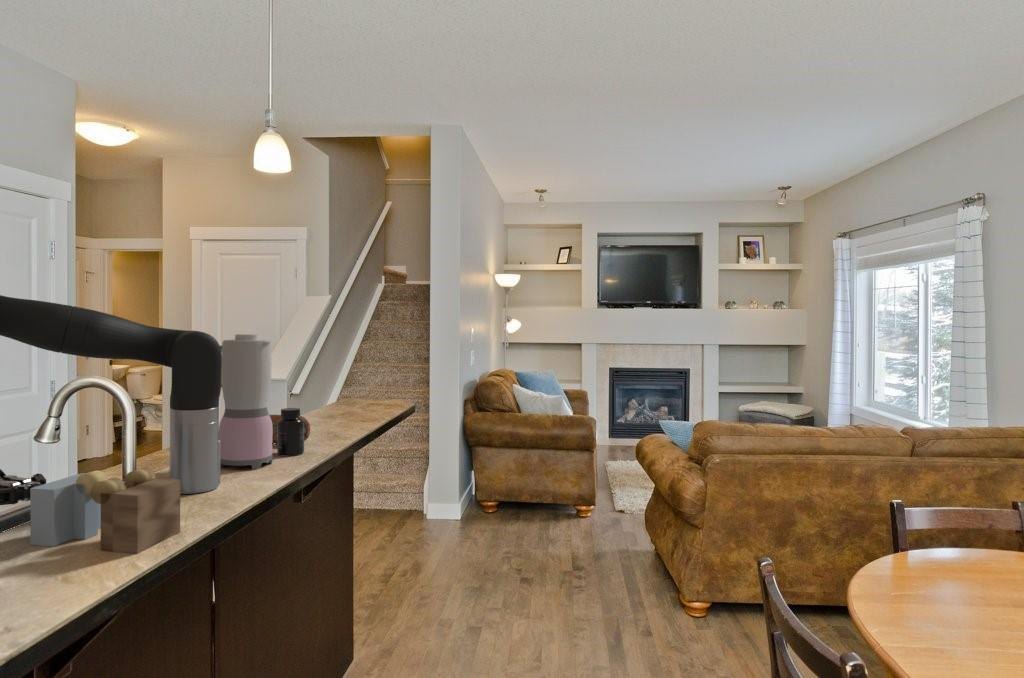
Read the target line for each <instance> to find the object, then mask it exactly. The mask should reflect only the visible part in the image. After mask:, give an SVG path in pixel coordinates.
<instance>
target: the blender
mask: <svg viewBox="0 0 1024 678" xmlns="http://www.w3.org/2000/svg"><path fill="white" fill-rule="evenodd" d="M220 348H221V354H222V369H221V391H222V398H223V400H224V412H223V415H222V418H221V419H220V420H219V440H220V442H221V457H220V468H223V465H226V466H240V467H241V466H251V470H253V469H254V470H258V469H257V468H260V469H261V468H262V464H263V463H268V464H269V465H271V464H270V463H272V464H273V454H274V453H273V444H272V434H273V428H272V420H271V418H270V416H269V415H270V414H269V411H268V400H269V396H270V391H271V385H272V343H271V341H270V340H269V339H259V334H255V333H253V334H252V333H251V334H250V333H242V334H241V333H240V334H237V333H236V334H235V335H234V339H223V340H222V345H220Z"/></svg>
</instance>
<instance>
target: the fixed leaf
mask: <svg viewBox="0 0 1024 678" xmlns="http://www.w3.org/2000/svg"><path fill="white" fill-rule="evenodd" d="M156 476H157V475H156V474H155V471H154V470H153V469H152V468H150V467H148V466H147V467H141V468H139V469H135V470H132V471H129V472H128V473H127V474H126V475H125V477H124V480H122V479H120V478H119V477H111V478H107V480H104V481H101V482H98V483H96V484H94V485H93V486H92V488H91V497H92V499H93V500H94V501H95V502H96V503H98V504H101V527H100V551H101V552H116V553H124V554H125V553H128V554H139V553H141V552H143V551H145V550H148V549H149V548H151V547H153V546H156V545H157V544H159V543H161V542H163V541H165V540H168V539H169V538H171V537H173V536H175V535H177V534H179V533H180V532H181V494H180V479H170V478H167V477H166V478H163V477H156Z"/></svg>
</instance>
